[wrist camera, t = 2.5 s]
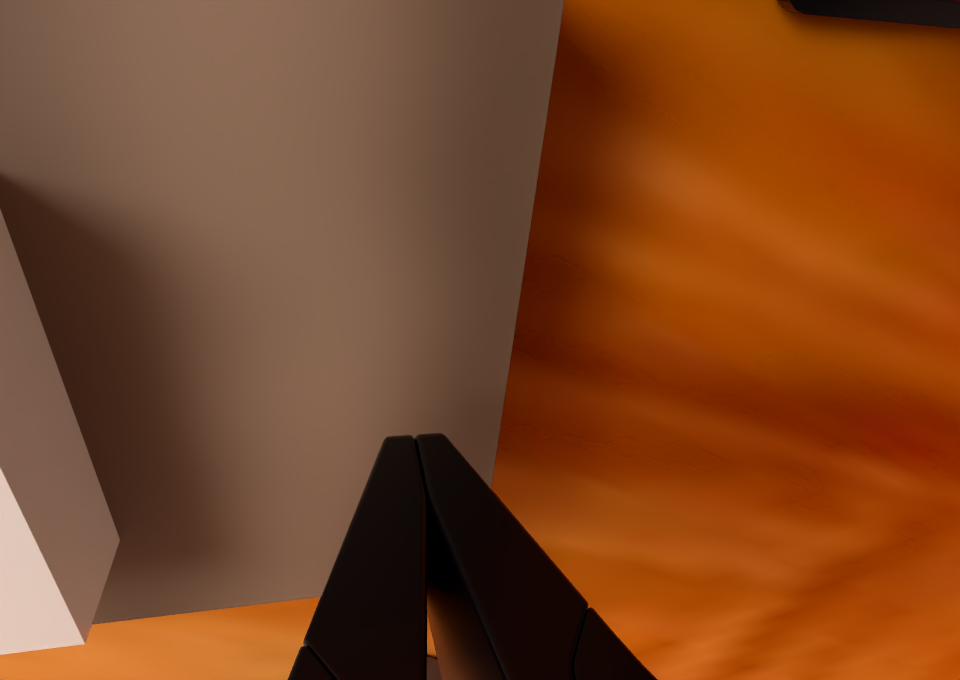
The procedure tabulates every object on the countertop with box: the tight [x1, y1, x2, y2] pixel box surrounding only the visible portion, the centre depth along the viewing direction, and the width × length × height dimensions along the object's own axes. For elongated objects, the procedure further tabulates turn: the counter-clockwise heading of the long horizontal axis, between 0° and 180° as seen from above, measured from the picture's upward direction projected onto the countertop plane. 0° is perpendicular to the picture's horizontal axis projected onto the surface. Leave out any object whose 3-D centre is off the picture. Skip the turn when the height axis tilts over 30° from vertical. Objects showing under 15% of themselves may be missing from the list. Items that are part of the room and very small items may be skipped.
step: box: [0, 0, 564, 624], centre depth 11 cm, size 14×12×3 cm
